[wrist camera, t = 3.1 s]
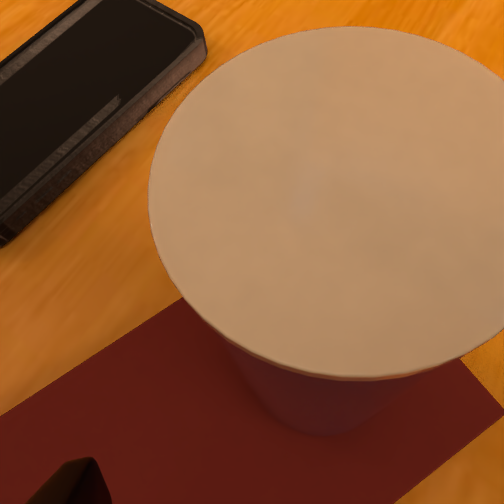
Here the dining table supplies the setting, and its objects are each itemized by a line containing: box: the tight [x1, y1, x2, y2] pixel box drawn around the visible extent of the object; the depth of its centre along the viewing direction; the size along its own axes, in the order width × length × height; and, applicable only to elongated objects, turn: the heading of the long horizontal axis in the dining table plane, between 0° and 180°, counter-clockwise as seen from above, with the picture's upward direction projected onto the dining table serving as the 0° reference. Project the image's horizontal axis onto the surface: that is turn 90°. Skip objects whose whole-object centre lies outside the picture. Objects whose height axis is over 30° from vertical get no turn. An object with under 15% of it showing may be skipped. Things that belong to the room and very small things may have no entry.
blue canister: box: [148, 26, 504, 436], centre depth 12 cm, size 5×5×12 cm
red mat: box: [0, 297, 504, 504], centre depth 16 cm, size 24×10×1 cm, turn 124°
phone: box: [0, 0, 207, 247], centre depth 24 cm, size 8×1×15 cm
